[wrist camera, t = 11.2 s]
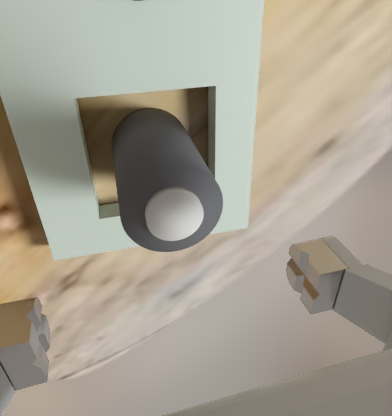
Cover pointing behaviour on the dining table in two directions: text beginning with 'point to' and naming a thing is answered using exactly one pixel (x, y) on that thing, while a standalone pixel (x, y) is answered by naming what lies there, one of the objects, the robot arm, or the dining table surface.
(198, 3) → the pale green board
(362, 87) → the dining table surface
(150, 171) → the grey cylinder with ball
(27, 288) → the dining table surface
